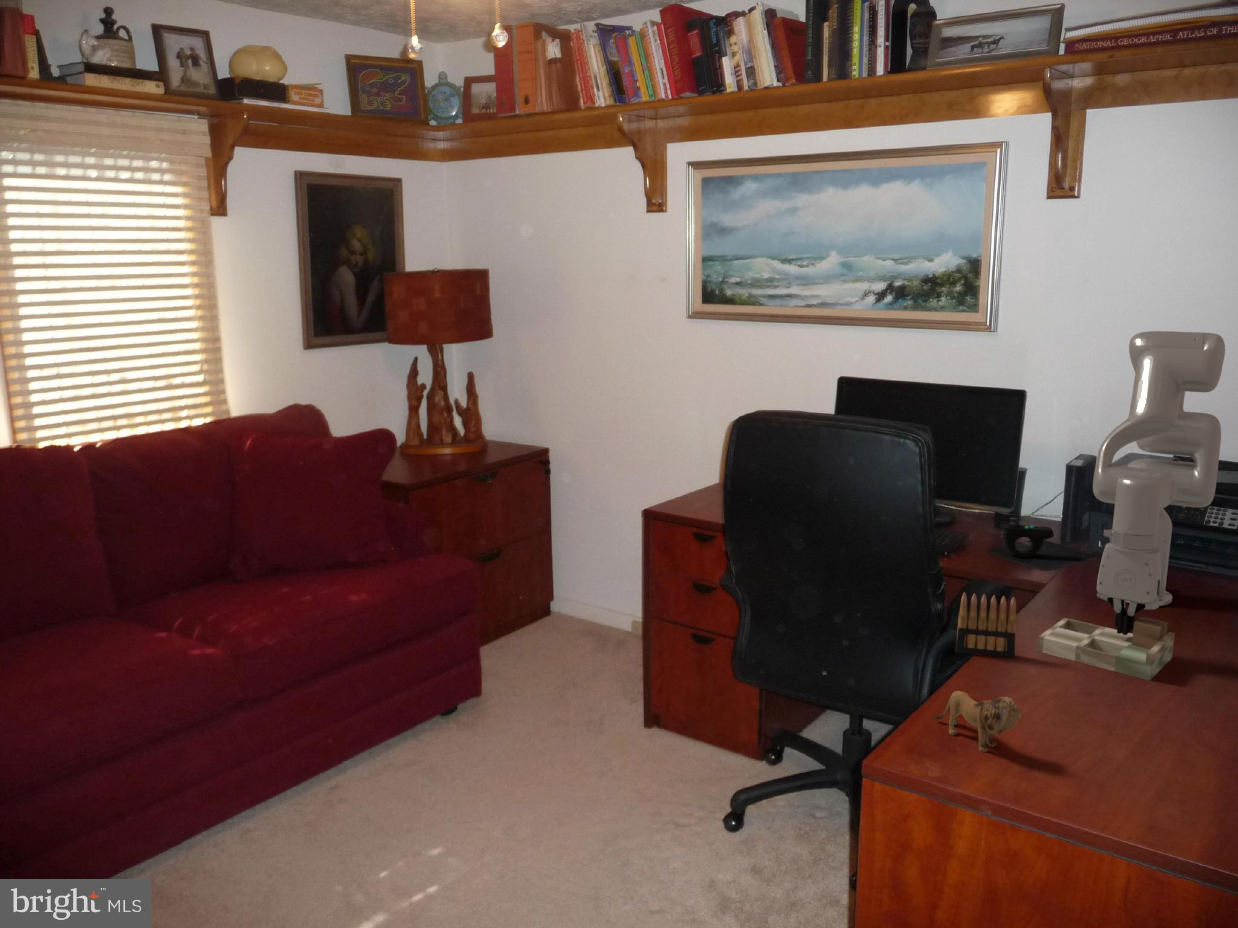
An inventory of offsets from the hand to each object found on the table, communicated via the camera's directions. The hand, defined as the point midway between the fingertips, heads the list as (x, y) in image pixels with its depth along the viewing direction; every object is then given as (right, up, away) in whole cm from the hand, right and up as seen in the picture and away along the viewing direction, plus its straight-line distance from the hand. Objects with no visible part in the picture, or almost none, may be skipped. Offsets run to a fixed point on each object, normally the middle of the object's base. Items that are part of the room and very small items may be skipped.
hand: (1123, 632), depth 186 cm
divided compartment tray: (-4, -4, 0) cm, 6 cm away
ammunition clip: (-26, -5, +1) cm, 27 cm away
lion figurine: (-40, -12, -33) cm, 53 cm away
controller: (+8, +8, +63) cm, 64 cm away
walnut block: (+3, -2, -3) cm, 5 cm away
